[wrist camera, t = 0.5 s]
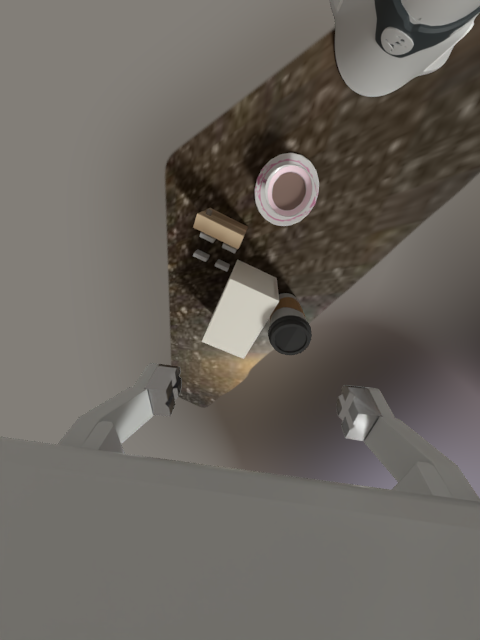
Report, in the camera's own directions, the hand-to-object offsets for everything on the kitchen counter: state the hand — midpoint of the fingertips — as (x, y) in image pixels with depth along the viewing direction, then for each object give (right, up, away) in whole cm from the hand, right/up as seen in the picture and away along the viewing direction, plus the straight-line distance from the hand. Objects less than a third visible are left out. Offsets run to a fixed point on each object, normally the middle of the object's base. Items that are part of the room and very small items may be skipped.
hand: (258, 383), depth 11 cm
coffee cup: (+10, +7, +44) cm, 45 cm away
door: (-4, +23, +35) cm, 42 cm away
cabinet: (-4, +12, +42) cm, 44 cm away
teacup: (+8, +28, +32) cm, 43 cm away
